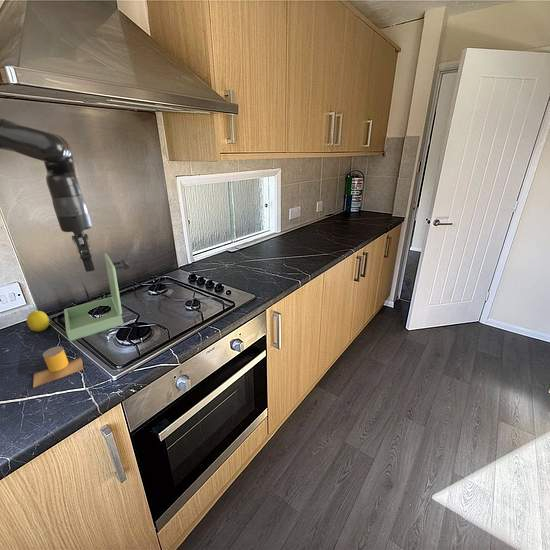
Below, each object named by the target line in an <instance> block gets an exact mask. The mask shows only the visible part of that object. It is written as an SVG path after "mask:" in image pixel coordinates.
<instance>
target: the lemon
mask: <svg viewBox="0 0 550 550" xmlns="http://www.w3.org/2000/svg"><path fill="white" fill-rule="evenodd" d="M26 323H27V326H28V327H29V329H30V330H31V331H33V332H39V333H40V332H43V331H45V330H46V329H48V327H49V326H50V318H49V316H48V315H47V314H46V312H44V311H41V310H32V311H31V312H30V313H29V314H28V316H27V318H26Z"/></svg>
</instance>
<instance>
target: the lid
mask: <svg viewBox="0 0 550 550" xmlns="http://www.w3.org/2000/svg"><path fill="white" fill-rule="evenodd" d="M103 255H104V261H105V266H106V267H105V268H106V272H107V278H108V279H107V280H108V285H109V291H110V297H112V298H113V300H114V303H115V305H116V307H117V309H118V312H119V314H121V315H122V314H123V310H122V304H121V297H120V289H119V284H118V278H117V271H116V270H121V269H124V270H125V271H126V270H129V269H130V265H129V263H128V262H127V260H125V259H120V261H117V262H116V261H115V262H112V260H111V258H110V257H109V255H108V254H107V253H104V254H103ZM117 265H119V266H117Z"/></svg>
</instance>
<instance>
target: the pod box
mask: <svg viewBox="0 0 550 550" xmlns="http://www.w3.org/2000/svg"><path fill="white" fill-rule="evenodd" d="M99 306H109V307H111V311H110V312H109V313H108V314H106V315H104V316H102V317H100V318H92V317H90V316H89V315H88V312H89V311H90V310H92V309H94V308H96V307H99ZM63 314H64V323H65V333H66V336H67V338H68V341H69V342H72V341H75V340H78V339H82V338H85V337H88V336H91V335H95V334H99V333H101V332H104V331H107V330H111V329H113V328H114V329H115V328H116V327H121V326H123V325H125V323H124V320H123V316H122V314H119V312H118V309H117V307H116V305H115V303H114V300H113V298H112V296H110V297H106V298H101V299H98V300H94V301H90V302H86V303H82V304H78V305H75V306H72V307H68V308H64V309H63Z"/></svg>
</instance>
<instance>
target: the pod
mask: <svg viewBox="0 0 550 550" xmlns="http://www.w3.org/2000/svg"><path fill="white" fill-rule="evenodd" d="M42 357H43V360H44V362H45V364H46V367H47V369H49V371H51V372H55V371H59V370H61V369H63V368H65V367H66V366H67V365H68V363H69V362H68V361H69V359H68V356H67V355H66V352H65V350H64V347H63V346H61V345H60V346H59V345H58V346H57V345H56V346H53V347H50V348H48V349H47V350H45V351H44V352H42Z"/></svg>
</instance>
